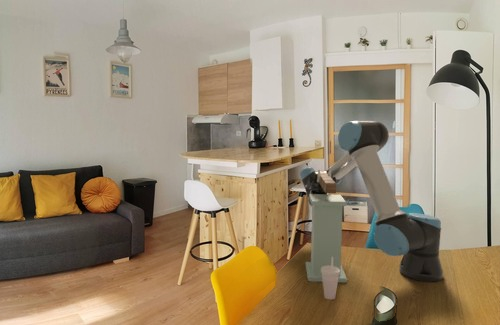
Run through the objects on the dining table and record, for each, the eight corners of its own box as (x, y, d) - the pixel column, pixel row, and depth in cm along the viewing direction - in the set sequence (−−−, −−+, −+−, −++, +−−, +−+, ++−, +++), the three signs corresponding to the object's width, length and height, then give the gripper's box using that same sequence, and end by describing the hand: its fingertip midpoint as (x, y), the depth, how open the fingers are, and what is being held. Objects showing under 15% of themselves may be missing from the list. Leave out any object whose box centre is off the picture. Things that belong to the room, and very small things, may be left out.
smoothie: (339, 302, 112) (341, 261, 110) (319, 300, 113) (320, 259, 111) (338, 292, 118) (340, 253, 116) (319, 291, 119) (320, 252, 117)
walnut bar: (317, 180, 145) (317, 172, 145) (326, 180, 145) (326, 172, 144) (325, 193, 119) (325, 183, 119) (335, 193, 119) (336, 183, 118)
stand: (305, 265, 140) (306, 193, 137) (340, 266, 139) (342, 194, 136) (308, 281, 127) (309, 201, 123) (346, 282, 125) (349, 202, 122)
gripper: (337, 200, 155) (346, 182, 133) (300, 199, 156) (303, 181, 135) (336, 184, 158) (345, 164, 136) (300, 184, 159) (303, 164, 138)
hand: (324, 173), depth 136 cm, fingers closed on walnut bar, 3 cm apart
